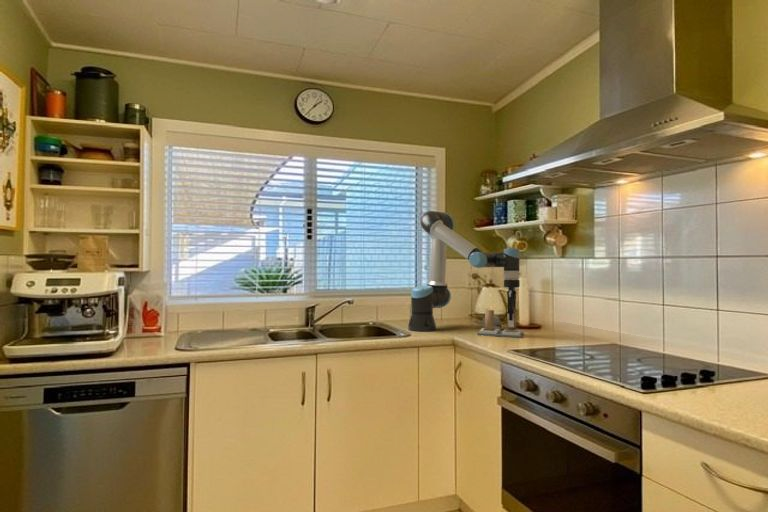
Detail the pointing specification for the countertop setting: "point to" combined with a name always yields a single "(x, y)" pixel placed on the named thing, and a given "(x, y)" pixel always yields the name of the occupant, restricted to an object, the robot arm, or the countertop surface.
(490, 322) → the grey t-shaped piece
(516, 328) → the wooden pin
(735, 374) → the countertop surface
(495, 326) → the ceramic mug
